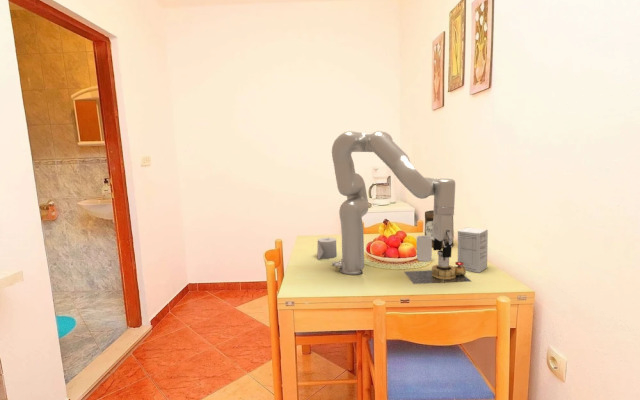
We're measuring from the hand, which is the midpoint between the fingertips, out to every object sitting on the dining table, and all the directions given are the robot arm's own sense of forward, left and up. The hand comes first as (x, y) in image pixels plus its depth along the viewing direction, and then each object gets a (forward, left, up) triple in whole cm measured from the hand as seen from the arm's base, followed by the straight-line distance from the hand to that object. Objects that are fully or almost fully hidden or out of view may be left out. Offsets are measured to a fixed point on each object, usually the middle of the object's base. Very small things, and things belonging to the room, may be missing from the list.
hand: (441, 253), depth 138 cm
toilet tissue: (-45, +38, -11) cm, 60 cm away
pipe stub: (+1, 0, -8) cm, 8 cm away
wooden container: (+18, +52, -11) cm, 56 cm away
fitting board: (-2, 0, -11) cm, 11 cm away
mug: (+1, +24, -11) cm, 26 cm away
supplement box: (+18, +12, -11) cm, 24 cm away
